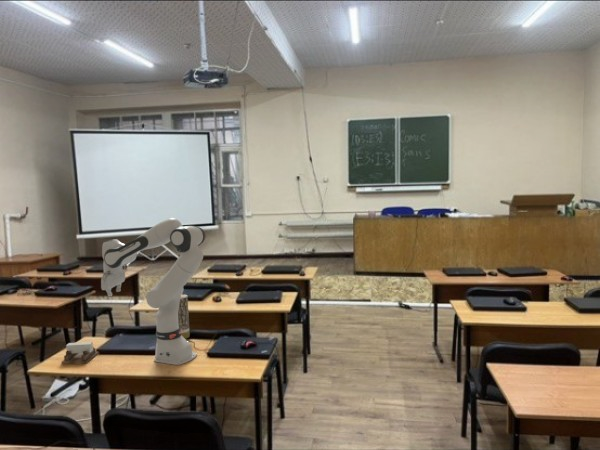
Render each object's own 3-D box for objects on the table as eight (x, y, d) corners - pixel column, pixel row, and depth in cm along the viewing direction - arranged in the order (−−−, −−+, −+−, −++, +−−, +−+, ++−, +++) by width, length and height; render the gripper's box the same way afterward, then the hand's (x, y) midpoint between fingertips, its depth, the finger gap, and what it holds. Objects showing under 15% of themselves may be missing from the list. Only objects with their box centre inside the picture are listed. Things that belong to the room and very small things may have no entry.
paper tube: (187, 339, 236) (185, 297, 234) (176, 339, 236) (173, 297, 234) (191, 335, 243) (188, 294, 240) (179, 335, 243) (177, 294, 241)
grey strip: (66, 353, 211) (66, 345, 211) (69, 351, 214) (69, 343, 214) (90, 352, 212) (89, 344, 212) (93, 350, 215) (92, 342, 215)
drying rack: (98, 353, 219) (98, 344, 219) (86, 363, 207) (85, 353, 207) (75, 354, 220) (74, 344, 219) (61, 363, 208) (60, 354, 207)
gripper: (108, 273, 210) (110, 299, 212) (126, 265, 231) (128, 288, 232) (96, 273, 211) (98, 299, 212) (115, 265, 231) (117, 289, 232)
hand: (114, 293), depth 222 cm, fingers open, 8 cm apart
